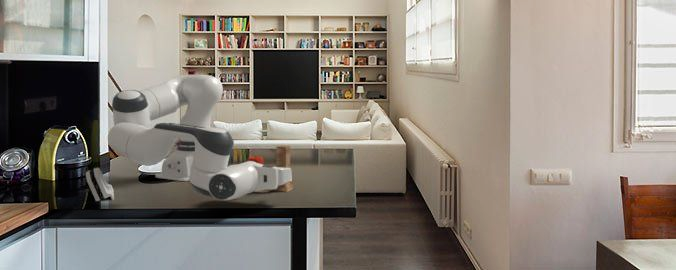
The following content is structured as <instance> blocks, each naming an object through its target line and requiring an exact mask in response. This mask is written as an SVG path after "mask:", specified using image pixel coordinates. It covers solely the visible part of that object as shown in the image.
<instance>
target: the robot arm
mask: <svg viewBox="0 0 676 270" xmlns="http://www.w3.org/2000/svg"><path fill="white" fill-rule="evenodd" d="M223 92H224V87H223V84H222V82H221V81H220V79H218V77H215V76H212V75H209V74H181V75H177V76H175V77H173V78H171V79H169V80H167V81H165V82H163V83H160V84H157V85H154V86H153V85H152V86H150V87H147V88H144V89H141V90H135V89H127V90H122V91H119V92H117V93H116V94H115V95H114V97H113V98H112V103H111V108H112V117H113V126H112V127H111V128H110V130H109V131H108V133H107V134H108V135H107V143H108V145H109V147H110V148H111V150H113V151H114V152H115V153H117V154H118V155H120V156H121V157H123V158H125V159H126V160H129V161H131V162H133V163H135V164H138V165H141V166H145V167H149V166H150V167H151V166H155V165H157V164H160V163H161V162H162V165H161V172H162V173H161V174H158V173H155V178H157V179H164V180H165V179H166V180H172V181H177V182H188V181H189V184H190V186H191V187H192V188H193V189H194V190H195V191H196V192H197V193H199V194H201V195H204V196H207V197H212V198H214V199H217V200H218V201H231V200H236V199H238V198H241V197H243V196H245V195H246V194H247V195H248V194H250V193H252V192H254V193H256V192H255V191H259V190H271V191H273V190H274V189H276V188H277V186H279V185H283V184H285V183H287V182H289V181H290V180H291V178H292V179H293V173H292V168H291V167H290V168H282V167H276V166H272V165H266V164H263V165H262V164H259V163H256V162H253V161H248V160H247V161H244V162H242V163H239V164H231V165H228V164H229V161H230V160H229V159H230V155H231V154H232V153H231V152H232V151H233V147H234V144H235V141H234V139H233V137H232V135H231V133H230V132H229V131H228V130H226V129H224V128H223V129H222V128H221V127H220V128H219V127H213V126H212V127H211V124H212V123H211V121H212V117H213V112H214V109H215V106H216V104H217V103H218V102H219V101H220V100H221V98H222V96H223V94H224V93H223ZM184 106H187V107H186V111H185V113H184V115H183V116H182V117H181V119H180V121H179V123H173V122H160V123H156V124H155V125H154V127H152V121H155V120H157V119H160V118H163V117H165V116H166V117H167V116H169V115H171V114H173V113H174V114H175V113H176V112H177V110H178V109H180V108H181V107H184ZM179 139H180V140H179ZM178 140H179V141H178ZM173 146H174V147H176V150H175V151H174V152H173V153H172V154H170V152H171V150H172V149H173ZM169 154H170V155H169ZM168 155H169V156H168ZM290 182H291V181H290ZM272 189H273V190H272Z"/></svg>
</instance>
